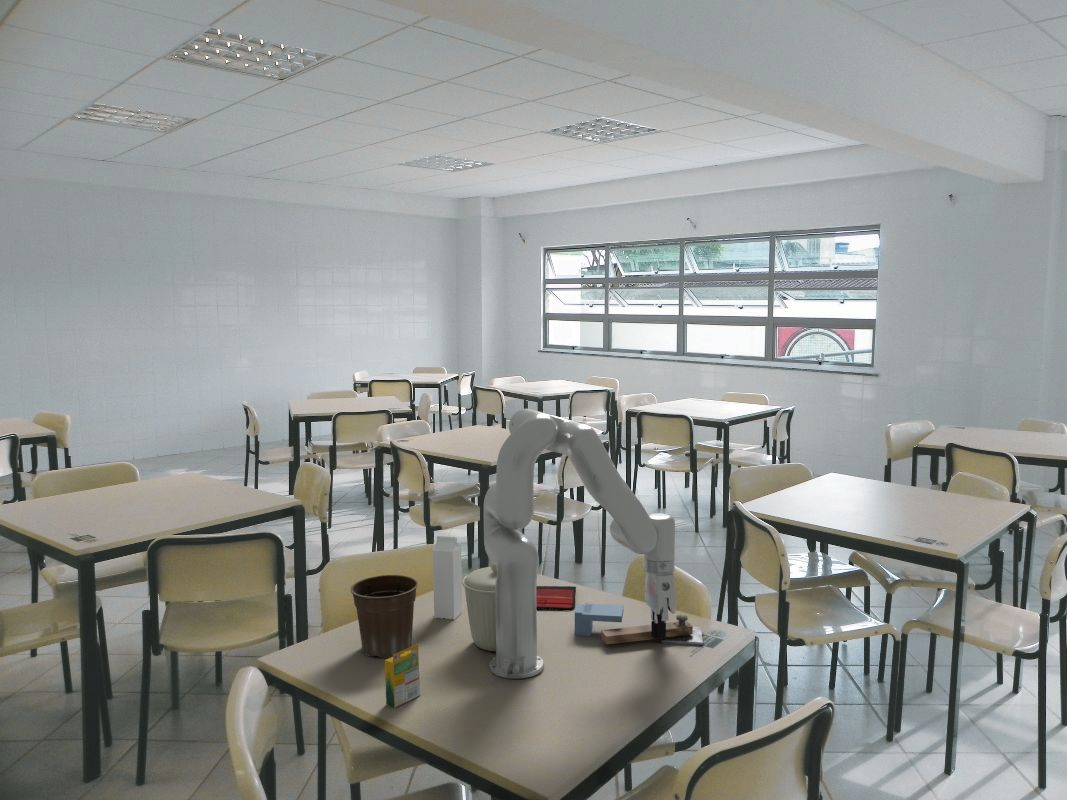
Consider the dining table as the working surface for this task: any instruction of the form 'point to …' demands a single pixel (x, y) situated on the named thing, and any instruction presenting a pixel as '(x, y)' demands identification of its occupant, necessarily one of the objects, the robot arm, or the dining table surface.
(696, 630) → the pintle base
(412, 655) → the crayon box
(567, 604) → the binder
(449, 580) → the milk
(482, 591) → the canister
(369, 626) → the plant pot
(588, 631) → the block
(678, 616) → the latch bar
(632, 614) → the dining table surface
